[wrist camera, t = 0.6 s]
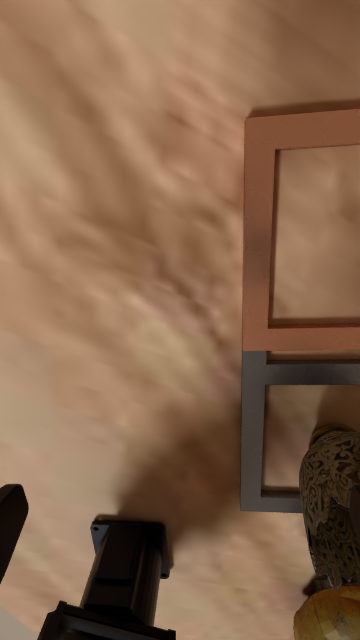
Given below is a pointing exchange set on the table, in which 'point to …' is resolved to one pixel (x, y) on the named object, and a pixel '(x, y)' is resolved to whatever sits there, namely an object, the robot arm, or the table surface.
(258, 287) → the rectangular frame
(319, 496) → the dark ridged bell shape
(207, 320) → the table surface
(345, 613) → the decorative figurine
